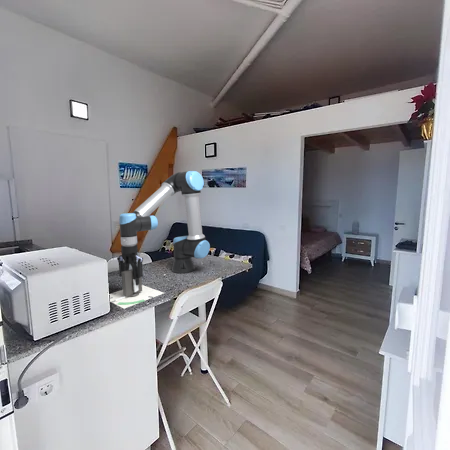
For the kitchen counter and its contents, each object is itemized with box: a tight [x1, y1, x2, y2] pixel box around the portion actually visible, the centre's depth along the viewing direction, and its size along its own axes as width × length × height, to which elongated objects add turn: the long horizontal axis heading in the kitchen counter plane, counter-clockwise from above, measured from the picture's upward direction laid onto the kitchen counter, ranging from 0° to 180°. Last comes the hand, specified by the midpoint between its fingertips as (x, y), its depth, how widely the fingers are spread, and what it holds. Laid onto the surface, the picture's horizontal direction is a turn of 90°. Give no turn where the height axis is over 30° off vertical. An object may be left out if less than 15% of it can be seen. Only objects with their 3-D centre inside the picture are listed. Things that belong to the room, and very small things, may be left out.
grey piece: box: [115, 269, 143, 301], centre depth 125 cm, size 14×6×13 cm, turn 143°
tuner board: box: [109, 284, 164, 310], centre depth 127 cm, size 22×22×2 cm
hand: (132, 290), depth 127 cm, fingers closed on grey piece, 4 cm apart
